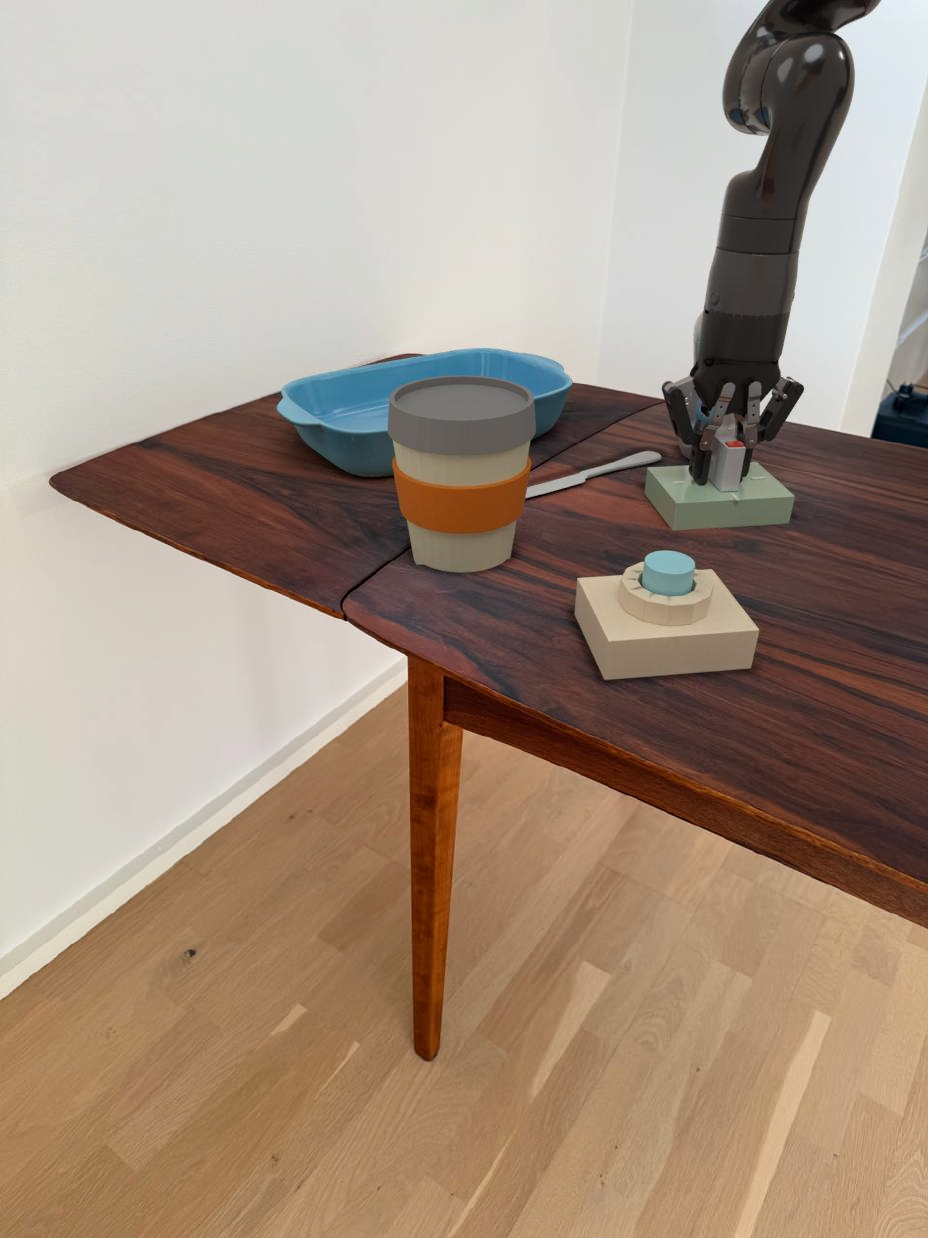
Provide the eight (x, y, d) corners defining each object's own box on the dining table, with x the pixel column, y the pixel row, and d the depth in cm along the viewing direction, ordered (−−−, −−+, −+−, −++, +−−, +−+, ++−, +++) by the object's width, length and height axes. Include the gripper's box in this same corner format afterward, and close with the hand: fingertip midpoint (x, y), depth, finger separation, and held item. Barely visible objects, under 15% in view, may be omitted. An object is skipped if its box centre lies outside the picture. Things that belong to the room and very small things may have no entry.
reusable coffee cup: (558, 556, 78) (568, 396, 70) (460, 606, 71) (459, 433, 63) (463, 514, 86) (463, 366, 78) (366, 555, 78) (354, 395, 70)
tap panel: (750, 486, 92) (755, 458, 90) (790, 525, 84) (797, 496, 82) (642, 492, 91) (646, 464, 89) (673, 532, 82) (677, 502, 81)
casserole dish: (332, 504, 88) (325, 438, 84) (253, 440, 104) (245, 382, 100) (604, 436, 105) (609, 378, 101) (501, 390, 121) (502, 338, 117)
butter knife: (668, 456, 98) (650, 449, 100) (497, 504, 87) (480, 495, 89) (667, 460, 98) (649, 452, 100) (496, 508, 87) (480, 498, 89)
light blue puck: (681, 572, 64) (685, 548, 63) (698, 596, 61) (702, 571, 60) (635, 575, 64) (638, 551, 63) (650, 600, 61) (653, 575, 60)
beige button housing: (704, 613, 70) (715, 548, 67) (749, 677, 62) (764, 608, 59) (573, 622, 69) (578, 557, 65) (603, 689, 61) (611, 619, 58)
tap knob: (700, 470, 88) (707, 426, 85) (716, 469, 88) (724, 425, 85) (720, 492, 83) (728, 445, 81) (738, 491, 83) (746, 445, 81)
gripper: (802, 291, 80) (766, 463, 89) (659, 295, 79) (637, 469, 88) (842, 309, 74) (799, 492, 83) (687, 313, 72) (661, 499, 82)
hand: (716, 480), depth 85 cm, fingers open, 3 cm apart
